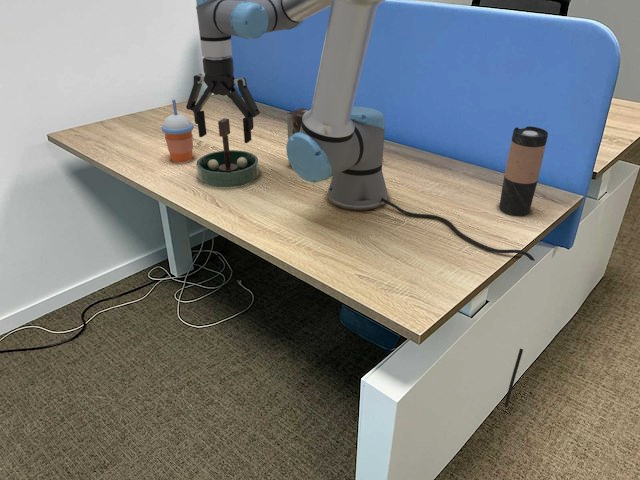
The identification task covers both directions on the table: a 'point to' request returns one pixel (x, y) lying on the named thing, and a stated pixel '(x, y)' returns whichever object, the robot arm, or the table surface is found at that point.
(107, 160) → the table surface
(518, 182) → the travel mug
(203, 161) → the bowl
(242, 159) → the dumpling
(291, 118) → the coffee box
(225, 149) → the brown handled stamp
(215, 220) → the table surface
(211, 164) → the dumpling
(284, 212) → the table surface
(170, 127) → the cup with straw
